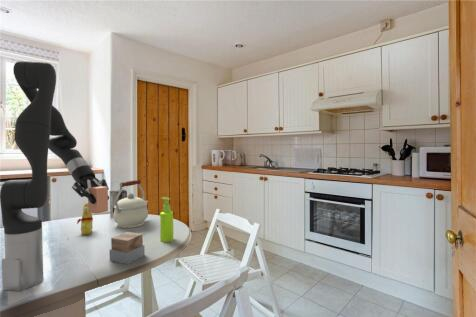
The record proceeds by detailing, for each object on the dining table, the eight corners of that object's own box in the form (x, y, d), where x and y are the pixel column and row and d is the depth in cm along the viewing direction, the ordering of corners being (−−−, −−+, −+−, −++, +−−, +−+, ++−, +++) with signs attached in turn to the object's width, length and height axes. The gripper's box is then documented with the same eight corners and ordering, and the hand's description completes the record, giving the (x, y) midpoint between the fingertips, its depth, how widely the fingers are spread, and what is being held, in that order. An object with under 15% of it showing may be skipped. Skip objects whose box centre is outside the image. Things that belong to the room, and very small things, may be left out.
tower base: (127, 265, 96) (126, 253, 95) (109, 261, 99) (109, 249, 99) (144, 255, 104) (144, 245, 104) (127, 252, 107) (127, 241, 107)
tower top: (127, 252, 96) (127, 240, 96) (111, 249, 99) (111, 238, 99) (142, 245, 104) (142, 234, 103) (127, 242, 106) (127, 231, 106)
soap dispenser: (167, 236, 126) (166, 196, 125) (175, 239, 121) (175, 197, 121) (156, 239, 121) (156, 197, 121) (165, 243, 117) (164, 199, 116)
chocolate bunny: (93, 228, 138) (93, 200, 138) (91, 234, 128) (91, 205, 128) (79, 230, 136) (78, 201, 135) (75, 236, 126) (75, 206, 125)
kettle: (130, 231, 133) (129, 184, 132) (103, 228, 139) (102, 182, 138) (159, 219, 156) (159, 178, 155) (135, 216, 162) (134, 177, 161)
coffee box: (124, 213, 171) (124, 189, 170) (127, 215, 166) (127, 190, 165) (109, 215, 165) (109, 190, 164) (112, 217, 160) (112, 192, 159)
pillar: (96, 213, 101) (96, 188, 100) (88, 212, 103) (87, 187, 102) (107, 211, 105) (107, 186, 105) (99, 209, 107) (99, 186, 107)
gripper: (67, 165, 100) (89, 198, 95) (100, 163, 113) (120, 192, 108) (59, 178, 102) (80, 211, 97) (92, 175, 115) (111, 204, 111)
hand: (101, 201), depth 103 cm, fingers closed on pillar, 5 cm apart
